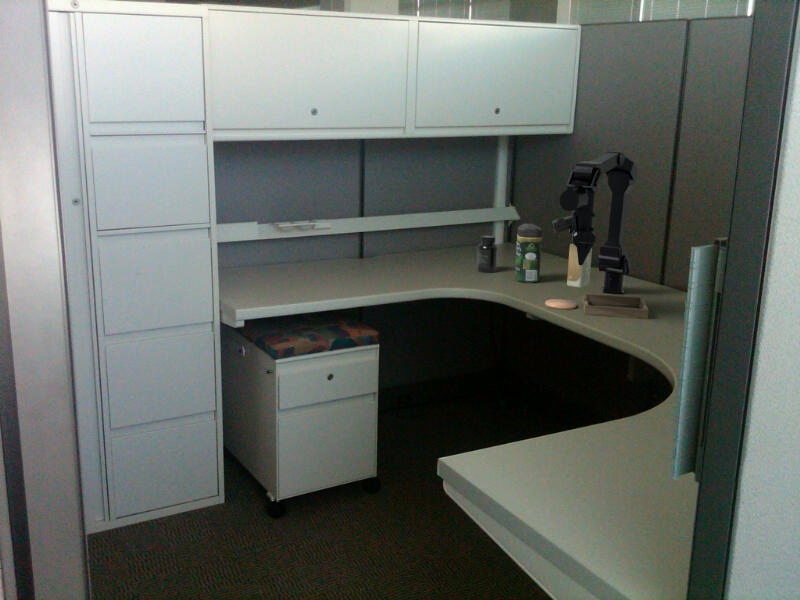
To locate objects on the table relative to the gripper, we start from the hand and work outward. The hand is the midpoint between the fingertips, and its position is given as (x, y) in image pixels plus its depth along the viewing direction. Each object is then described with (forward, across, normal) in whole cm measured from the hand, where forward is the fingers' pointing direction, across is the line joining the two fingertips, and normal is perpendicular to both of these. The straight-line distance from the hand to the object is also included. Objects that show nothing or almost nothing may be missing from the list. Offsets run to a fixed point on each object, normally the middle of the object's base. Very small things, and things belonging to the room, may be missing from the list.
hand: (579, 262), depth 229 cm
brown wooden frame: (+13, +1, +11) cm, 17 cm away
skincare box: (+7, 0, 0) cm, 7 cm away
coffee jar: (+13, -33, -14) cm, 38 cm away
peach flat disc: (+13, -1, -4) cm, 14 cm away
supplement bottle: (+13, -44, -28) cm, 54 cm away
